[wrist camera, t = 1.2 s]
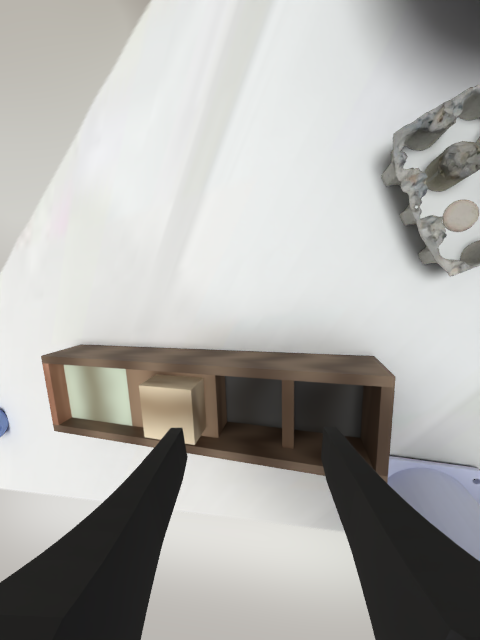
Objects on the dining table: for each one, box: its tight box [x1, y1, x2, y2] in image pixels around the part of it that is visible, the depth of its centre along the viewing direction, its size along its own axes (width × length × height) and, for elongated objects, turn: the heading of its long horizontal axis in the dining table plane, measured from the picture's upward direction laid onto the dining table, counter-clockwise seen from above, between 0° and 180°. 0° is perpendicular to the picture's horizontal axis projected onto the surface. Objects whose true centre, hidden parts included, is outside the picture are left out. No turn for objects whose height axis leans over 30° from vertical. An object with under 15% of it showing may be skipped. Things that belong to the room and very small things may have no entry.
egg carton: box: [381, 84, 480, 276], centre depth 15 cm, size 11×8×4 cm
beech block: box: [139, 374, 206, 445], centre depth 21 cm, size 5×5×2 cm
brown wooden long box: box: [41, 345, 395, 483], centre depth 22 cm, size 32×9×4 cm, turn 92°
